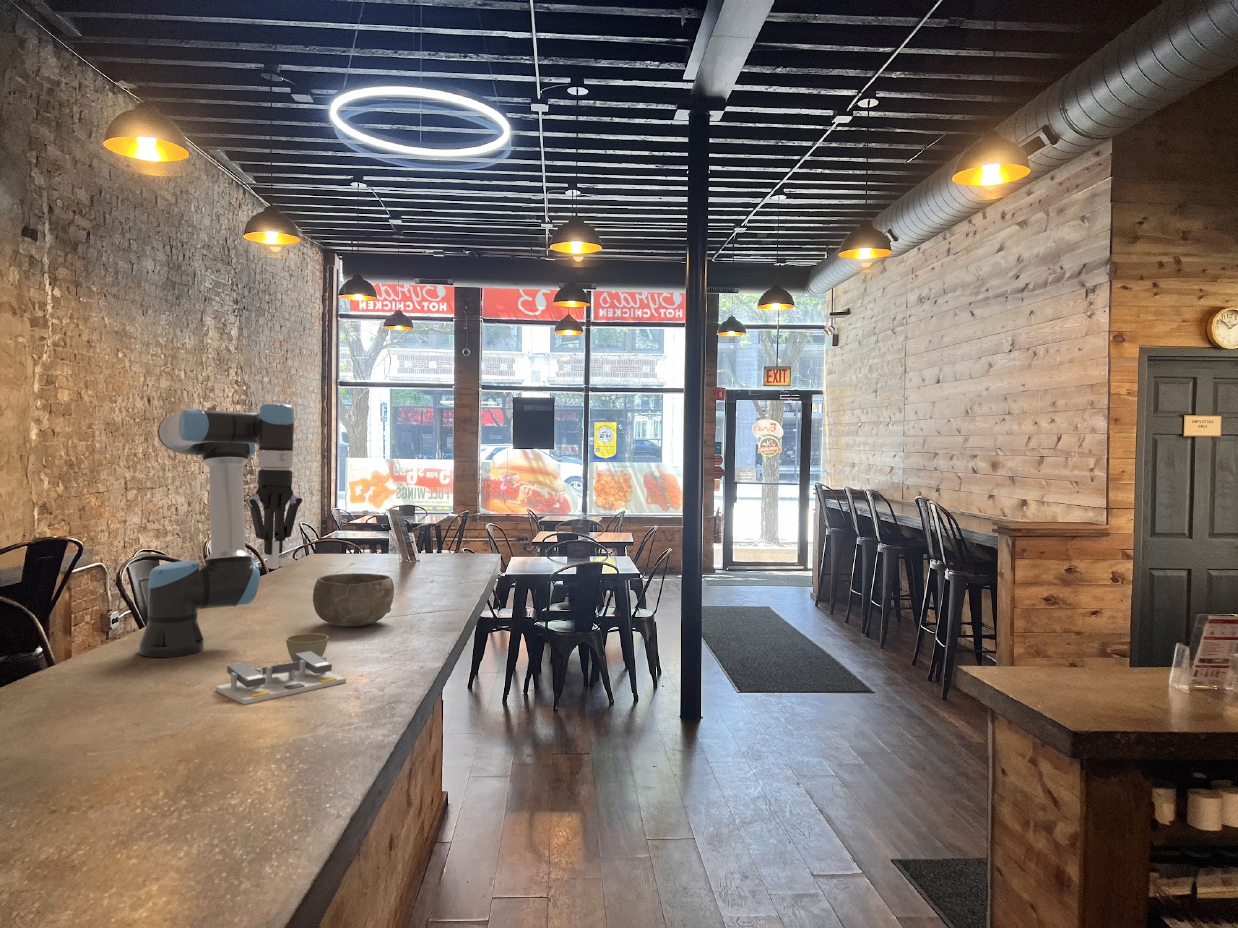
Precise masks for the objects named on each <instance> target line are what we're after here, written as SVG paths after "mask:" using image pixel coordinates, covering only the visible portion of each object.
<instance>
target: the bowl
mask: <svg viewBox="0 0 1238 928" xmlns="http://www.w3.org/2000/svg"><path fill="white" fill-rule="evenodd" d="M394 596H395V586H394V581H393V579H392V577H391V576H389V575H385V574H377V573H363V572H362V573H359V572H358V573H353V572H352V573H338V574H337V573H336V574H328V575H323V576H320V577H318V578H317V580H316V581H315V584H314V587H313V593H312V603H313V608H314V611H315V613H316V615H317V616H318V617H319V619H320V620H322V621H324V622H325V623H328V624H331V625H334V626H341V627H363V626H368V625H371V624H375V623H377V622H378V621H380V620H382V619H383V618H384V617H385V616H386V615H387V614H389V613H390V612H391V610H392V608H391V606H392V604H393V602H394Z"/></svg>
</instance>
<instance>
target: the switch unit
mask: <svg viewBox="0 0 1238 928" xmlns="http://www.w3.org/2000/svg"><path fill="white" fill-rule="evenodd" d="M321 658H323V659H324V660H326V661H327V657H326V656H324V655H323V656H321ZM292 662H293V661H289V662H288V663H292ZM299 665H300V669H296V670H291V671H285V672H280V673H275V674H273V673H272V667H270V666H271V665H270V666H269V665H267V666H265V667H266V674H265V675H264V676H265V677H266V679H265V684H264V685H259V686H254V687H249V688H247V687H245V686H244V685H243V684H241V683H240V682H239V681H238V680H237V674H236V673H231V675H230V682H229V683H225V684H219V685H215V692H218V693H220V694H222V695H224V696H226V697H227V698H228V697H229V698H230V699H232V700H234V701H236V702H238V703H241V704H242V705H247V704H254V703H257V702H261V701H262V702H263V701H267V700H271V699H275V698H280V697H285V696H290V695H294V694H298V693H305V692H308V691H314V690H317V689H322V688H327V687H332V686H335V685H336V686H337V685H340V684H346V683H347V679H346V677H344V676H342V675H339V674H335V673H333V672H331V671H328V672H323V673H318V674H315V673H313V672H312V671H310V670H309V669H307V668H305V661H303V660H300V661H299ZM254 669H255V670H256V671H258V672H259V673H260V674H262V668H258V667H256V668H254Z"/></svg>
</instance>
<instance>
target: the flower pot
mask: <svg viewBox="0 0 1238 928" xmlns="http://www.w3.org/2000/svg"><path fill="white" fill-rule="evenodd" d="M285 640H286V647H287V651H288V654H289V656H290V659H291V662H297V661H295V660H294V659H295V654H296V653H302V652H307V651H312V652H313V653H315V654H316V655H318V656H319V657H321V656H324V654H325V653H326V649H327V646H328V642H329V635H326V634H321V633H298V634H294V635H290V636H289V635H288V636H286V639H285ZM305 669H307V668H306V667H305Z"/></svg>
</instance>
